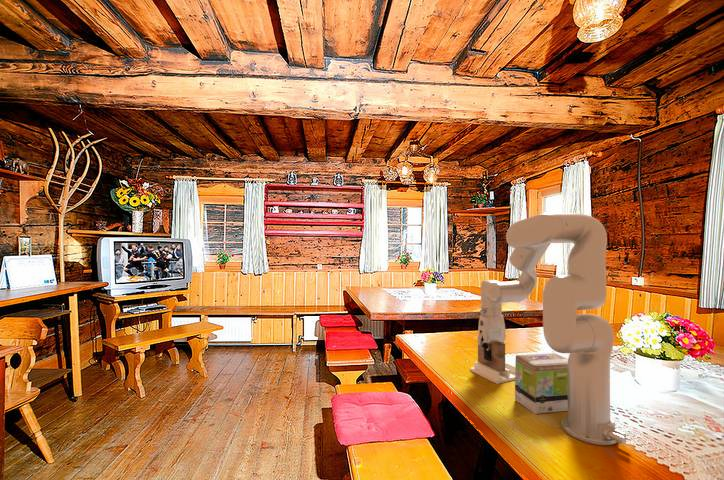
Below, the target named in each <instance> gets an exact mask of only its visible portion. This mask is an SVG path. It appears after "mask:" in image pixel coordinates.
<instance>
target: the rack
mask: <svg viewBox="0 0 724 480" xmlns="http://www.w3.org/2000/svg"><path fill="white" fill-rule="evenodd" d="M515 366H516V365H515V364H514V365H513V364H512V363H509V362H506V361H505V371H500V372H499V371H497V370H495V369H493V368H490V367H488V366H486V365H484V364H482V363H480V362H478V361H474V364H473V366H472V367H469V371H471V372H473V373H474V374H476V375H479V376H481V377H482V378H484V379H487V380H488V381H491V382H493V383H495V384H498V385H499V384H502V383H506V382H507V383H508V382H512V381H515Z"/></svg>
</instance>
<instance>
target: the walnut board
mask: <svg viewBox="0 0 724 480" xmlns="http://www.w3.org/2000/svg"><path fill="white" fill-rule="evenodd" d="M478 339H479V338H478V337H477V340H478ZM486 345H487V343H486ZM490 351H491V361H488V360H486V359H484V349H483V348H482V346H481V345H479V344H477V362H478V363H480V364H483V365H486V366H488V367H490V368H493V369H495V370H497V371H499V372H500V371H505V362H506V343H505V342H504V343H502V342H494V343H490Z"/></svg>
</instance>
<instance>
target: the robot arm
mask: <svg viewBox="0 0 724 480" xmlns="http://www.w3.org/2000/svg"><path fill="white" fill-rule="evenodd" d="M607 234H608V233H607V231H606V228H605V226H604V224H603V223H602V222H601V221H600V220H598V219H597V218H595V217H594V216H590V215H588V214H583V213H569V212H568V213H567V212H565V213H561V212H544V213H539V214H536V215H533V216H529V217H526V218H524V219H521V220H518V221H515V222H514V223H512V224H510V226H509V227H508V229H507V232H506V233H505V240H506V243H507V244H508V245H509V246H510V247H511V248H513V250H512V253H511V254H510V256H509V262H510V264H511V265H512V266H513V267H514V268H515V269H516V270H518V271H519V272H521V273H520V276H519V277H518V279H517V280H516V281H515V280H514V281H512V280H511V281H500V280H496V279H484V280H481V282H480V310H479V313H480V315H479V319H478V329H477V335H478V336H477V342H476V344H477V345H478V344H479V345H481V346H482V348H483V349H484V359H486V360H488V361H491V351H490V343H494V342H502V343H503V342H504V343H505V340H506V339H507V338H506V335H507V334H506V324H505V318H504V315H503V314H502V312H503V311H502V309H503V308H502V306H503V305H502V303H503V304H504V303H505V304H506V303H521V302H523V301H525V300H526V299H528V297H530V296H531V294H532V292H533V290H535V288H536V285H537V281H538V280H537V276H538V275H537V271H536V267H537V265H538V263H540V260H541V259H542V258H543V256H544V255H545V253H546V251H547V250H548V248H549V247H550V245H551V244H565V243H566V244H567V243H568V244H569V243H571V244H574V245H573V247H572V248H571V250H570V252H569V255H568V258H567V266H568V267H567V274H560V275H554V276H552V277H551V278H550V279H548V280H547V282H546V283H545V285H544V287H543V289H542V290H543V291H542V328H543V336H544V338H545V339H544V340H545V341H546V343H547V345H548V347H549V348H551V350H553V351H554V352H557V353H560V354H568V358H567V359H568V364H567V389H568V411H567V416H564V417H563V418H562V419H561V421H560V422H561V423H560V425H561V427H562V429H563V431H565V432H566V433H567V435H568V434H569V435H570V436H572V437H573V438H575V439H577V440H580V441H582V442H585V443H588V444H592V445H598V446H610V445H611V446H613V445H614V444H616V443H619V444H620V445H622V446H625V445H626V443H627V433H625V432H623V431H621V430H619V429H617V427H616V421H614V420H612V419H611V357H612V352H613V349H614V348H613V347H614V343H615V333H614V329H613V327H612V325H611V324H610V322H609V321H608V320H607V319H605V318H604V317H602V316H600V315H597V314H593V313H579V314H577V312H578V311H588V310H594V309H595V310H596V309H599V308H602V307H603V306H604V305H605V304H606V301H607V265H606V264H607V263H606V256H607V255H606V254H607V245H608V236H607ZM478 338H479V339H478ZM486 343H487V345H486Z"/></svg>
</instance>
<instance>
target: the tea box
mask: <svg viewBox="0 0 724 480" xmlns="http://www.w3.org/2000/svg"><path fill="white" fill-rule="evenodd" d="M567 364H568V358H566V357H564V356H562V355H559V354H558V353H555V352H553V353H536V354H519V355H515V365H514V366H515V380H514V400H515V401H516V402H517V403H519V405H520V404H521V405H522V406H523V407H524V408H525V409H527V410H528V411H530V412H531V413H533V414H535V415H538V414H545V413H556V412H568V389H567Z"/></svg>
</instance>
